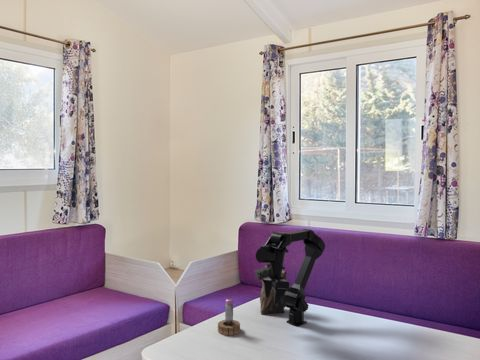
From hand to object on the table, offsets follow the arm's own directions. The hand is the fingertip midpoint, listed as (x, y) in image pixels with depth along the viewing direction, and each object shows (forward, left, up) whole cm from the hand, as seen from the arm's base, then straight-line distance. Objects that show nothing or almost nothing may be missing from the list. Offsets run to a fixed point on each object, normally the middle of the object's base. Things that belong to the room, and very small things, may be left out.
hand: (270, 300), depth 174 cm
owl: (-18, -17, -13) cm, 28 cm away
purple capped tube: (+12, -12, -13) cm, 22 cm away
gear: (+12, -12, -13) cm, 22 cm away
